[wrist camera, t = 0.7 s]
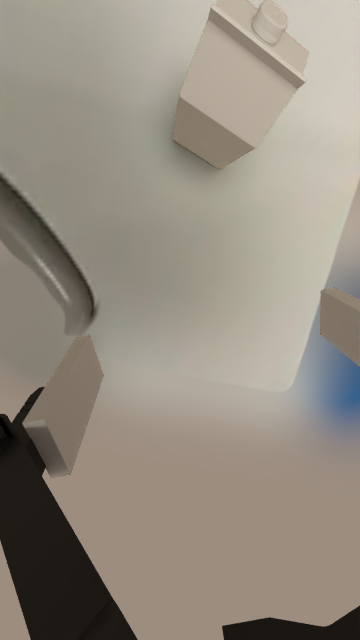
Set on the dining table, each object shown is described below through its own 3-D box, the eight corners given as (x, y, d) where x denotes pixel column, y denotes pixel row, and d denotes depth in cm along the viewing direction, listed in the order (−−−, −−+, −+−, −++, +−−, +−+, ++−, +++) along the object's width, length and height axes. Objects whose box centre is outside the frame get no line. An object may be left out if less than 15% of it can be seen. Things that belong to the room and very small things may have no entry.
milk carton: (219, 170, 36) (274, 137, 19) (171, 139, 35) (182, 72, 17) (249, 112, 34) (342, 16, 17) (199, 77, 33) (245, -73, 15)
